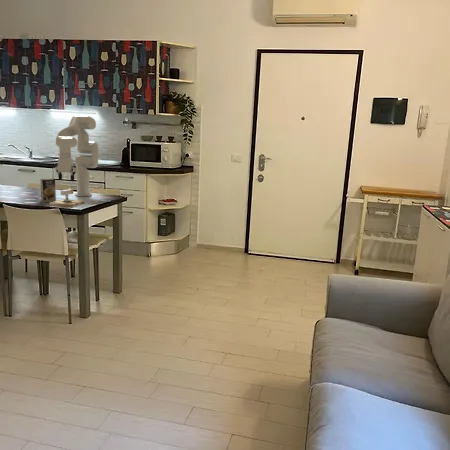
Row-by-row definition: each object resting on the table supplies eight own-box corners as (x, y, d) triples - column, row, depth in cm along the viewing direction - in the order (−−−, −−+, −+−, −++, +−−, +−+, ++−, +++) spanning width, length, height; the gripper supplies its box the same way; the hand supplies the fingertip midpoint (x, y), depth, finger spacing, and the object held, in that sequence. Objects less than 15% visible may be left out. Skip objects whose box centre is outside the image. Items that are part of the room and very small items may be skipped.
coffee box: (43, 202, 339) (42, 180, 335) (41, 200, 344) (39, 178, 340) (56, 201, 344) (55, 179, 341) (53, 199, 349) (52, 178, 346)
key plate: (63, 201, 345) (63, 198, 344) (84, 203, 340) (84, 200, 340) (49, 205, 329) (49, 202, 328) (70, 207, 324) (70, 204, 324)
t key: (64, 202, 329) (64, 191, 327) (60, 201, 331) (59, 190, 329) (74, 200, 337) (74, 189, 336) (69, 199, 339) (69, 188, 337)
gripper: (51, 155, 325) (52, 179, 330) (73, 157, 321) (74, 181, 325) (57, 154, 332) (59, 178, 337) (79, 156, 328) (80, 180, 332)
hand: (66, 180), depth 331 cm, fingers open, 9 cm apart
